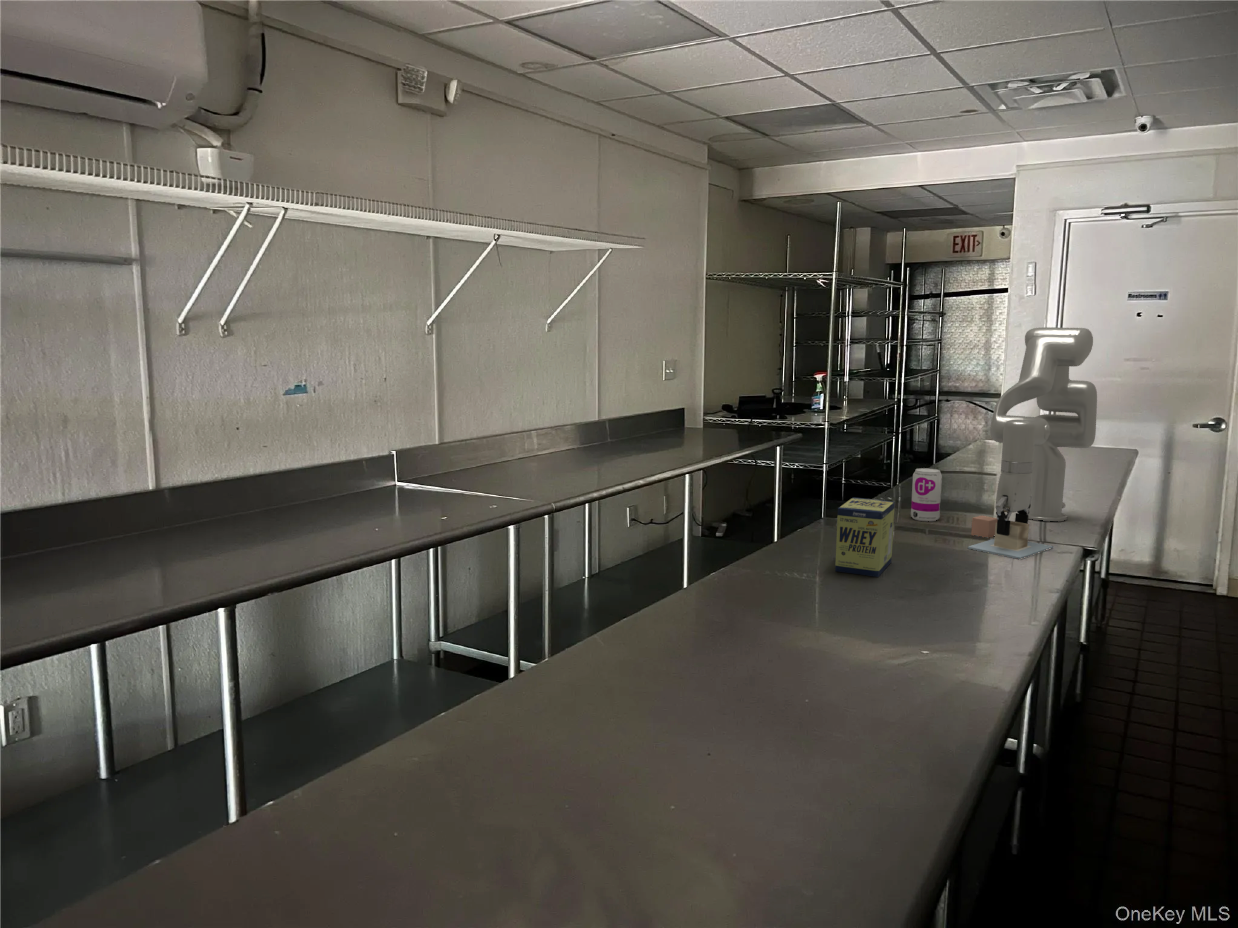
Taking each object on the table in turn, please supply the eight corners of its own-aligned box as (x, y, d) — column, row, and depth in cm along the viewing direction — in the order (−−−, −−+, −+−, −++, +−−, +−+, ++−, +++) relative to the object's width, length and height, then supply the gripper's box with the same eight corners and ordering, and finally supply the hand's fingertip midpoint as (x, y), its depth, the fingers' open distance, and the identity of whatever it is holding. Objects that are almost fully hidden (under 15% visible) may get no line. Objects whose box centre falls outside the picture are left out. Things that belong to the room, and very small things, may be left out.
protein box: (834, 571, 210) (837, 507, 208) (849, 556, 224) (852, 496, 221) (879, 577, 205) (882, 512, 203) (892, 562, 219) (895, 500, 217)
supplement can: (934, 523, 262) (937, 473, 260) (906, 519, 267) (909, 470, 265) (943, 518, 269) (946, 469, 266) (915, 514, 273) (918, 467, 271)
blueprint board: (1001, 538, 244) (1001, 535, 243) (1053, 548, 233) (1053, 545, 233) (967, 548, 232) (967, 546, 232) (1020, 559, 222) (1020, 556, 221)
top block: (980, 532, 251) (981, 515, 250) (997, 535, 247) (998, 518, 246) (971, 535, 248) (972, 517, 247) (988, 538, 244) (989, 520, 243)
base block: (1005, 541, 237) (1006, 520, 236) (1027, 546, 232) (1029, 523, 231) (994, 545, 233) (995, 523, 232) (1016, 549, 228) (1018, 527, 227)
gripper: (1018, 462, 238) (1014, 524, 240) (986, 469, 227) (981, 534, 230) (1046, 465, 232) (1041, 529, 235) (1014, 473, 221) (1009, 539, 224)
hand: (1012, 531), depth 232 cm, fingers open, 9 cm apart
